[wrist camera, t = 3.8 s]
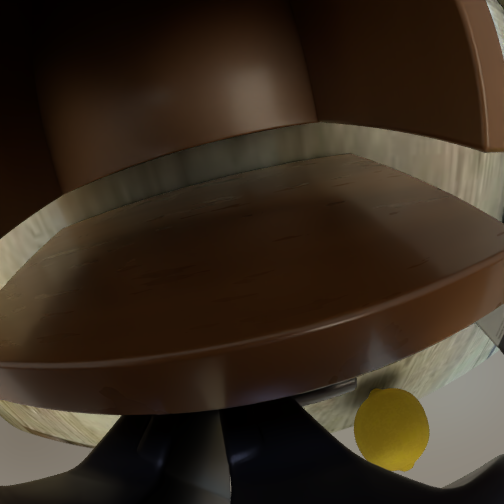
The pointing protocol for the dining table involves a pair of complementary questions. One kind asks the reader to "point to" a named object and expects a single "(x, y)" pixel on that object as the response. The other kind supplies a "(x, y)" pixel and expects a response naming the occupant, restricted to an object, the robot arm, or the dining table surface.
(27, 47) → the drawer
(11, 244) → the dining table surface
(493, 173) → the dining table surface
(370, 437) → the lemon
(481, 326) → the tea box
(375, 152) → the dining table surface
